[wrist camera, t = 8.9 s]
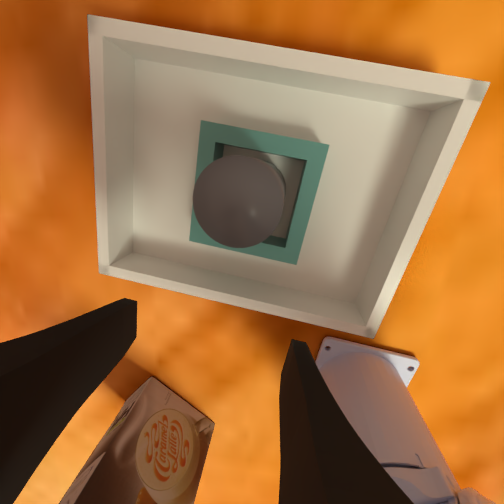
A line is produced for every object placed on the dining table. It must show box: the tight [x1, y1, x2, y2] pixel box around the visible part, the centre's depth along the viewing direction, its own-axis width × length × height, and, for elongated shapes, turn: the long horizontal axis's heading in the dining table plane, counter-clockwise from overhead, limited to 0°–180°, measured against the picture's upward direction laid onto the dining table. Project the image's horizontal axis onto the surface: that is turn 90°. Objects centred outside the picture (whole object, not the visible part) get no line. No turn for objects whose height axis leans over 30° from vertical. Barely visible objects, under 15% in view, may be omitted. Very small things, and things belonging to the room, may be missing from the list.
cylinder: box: [193, 155, 286, 248], centre depth 14 cm, size 4×4×7 cm
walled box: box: [87, 14, 490, 339], centre depth 16 cm, size 15×20×4 cm
